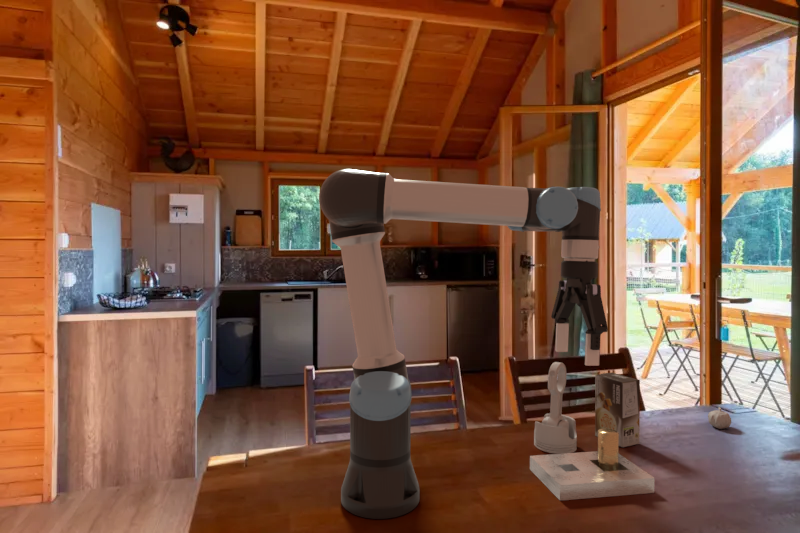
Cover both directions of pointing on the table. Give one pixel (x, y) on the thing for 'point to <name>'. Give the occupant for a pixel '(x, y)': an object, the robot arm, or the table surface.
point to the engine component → (556, 418)
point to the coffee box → (618, 406)
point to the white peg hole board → (589, 476)
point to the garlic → (719, 419)
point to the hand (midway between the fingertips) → (575, 358)
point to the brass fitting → (608, 449)
